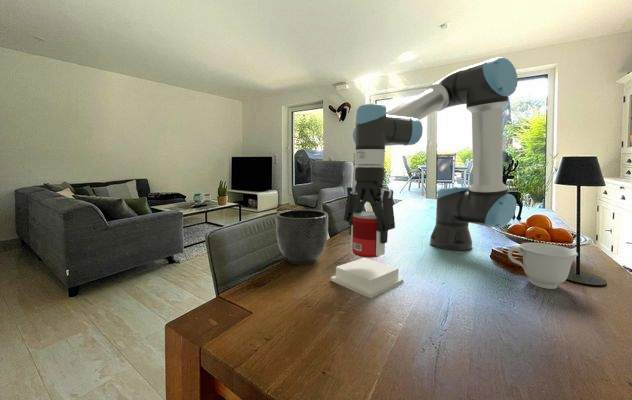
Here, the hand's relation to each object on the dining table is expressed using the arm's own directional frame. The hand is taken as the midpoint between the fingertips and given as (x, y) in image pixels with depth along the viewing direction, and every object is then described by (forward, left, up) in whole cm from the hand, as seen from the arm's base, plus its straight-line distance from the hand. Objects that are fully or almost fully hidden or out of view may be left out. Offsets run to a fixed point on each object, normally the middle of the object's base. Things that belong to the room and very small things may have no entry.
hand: (367, 250), depth 78 cm
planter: (+3, -25, -9) cm, 27 cm away
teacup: (-34, +31, -9) cm, 47 cm away
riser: (0, 0, -9) cm, 9 cm away
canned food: (0, 0, -1) cm, 1 cm away
